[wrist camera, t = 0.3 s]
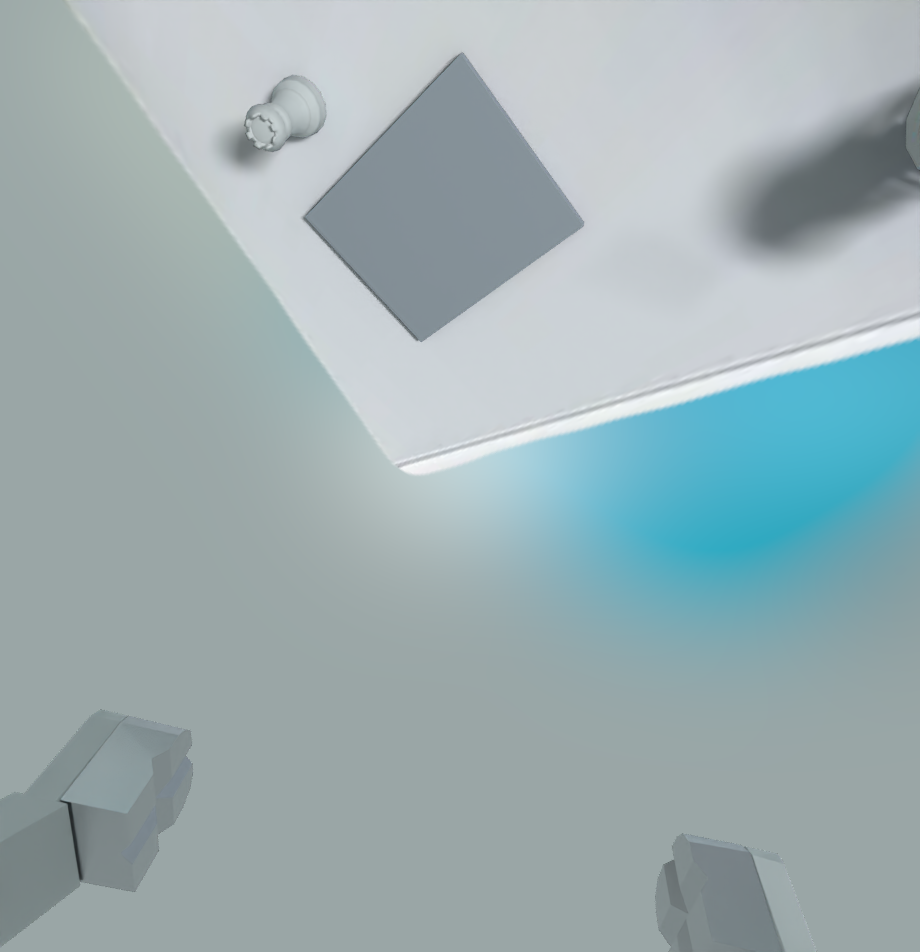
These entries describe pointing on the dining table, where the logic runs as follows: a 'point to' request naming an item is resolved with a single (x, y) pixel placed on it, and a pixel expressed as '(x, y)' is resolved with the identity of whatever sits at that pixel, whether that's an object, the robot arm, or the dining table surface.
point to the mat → (445, 205)
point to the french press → (914, 131)
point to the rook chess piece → (286, 114)
